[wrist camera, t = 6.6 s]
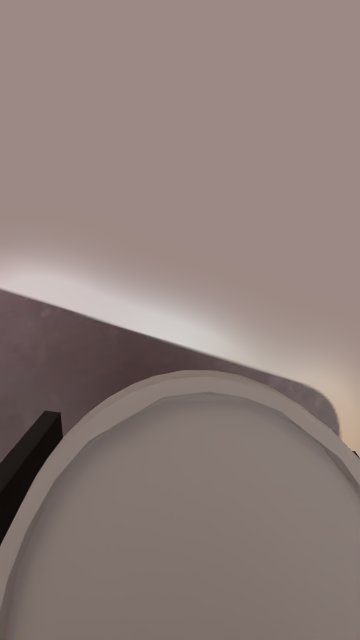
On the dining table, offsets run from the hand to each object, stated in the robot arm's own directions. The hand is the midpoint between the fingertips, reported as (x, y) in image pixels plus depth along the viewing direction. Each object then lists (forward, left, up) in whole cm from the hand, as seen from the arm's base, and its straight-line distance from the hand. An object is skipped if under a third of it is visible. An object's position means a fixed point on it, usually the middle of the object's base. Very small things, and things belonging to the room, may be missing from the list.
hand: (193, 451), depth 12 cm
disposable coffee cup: (0, +2, -5) cm, 6 cm away
